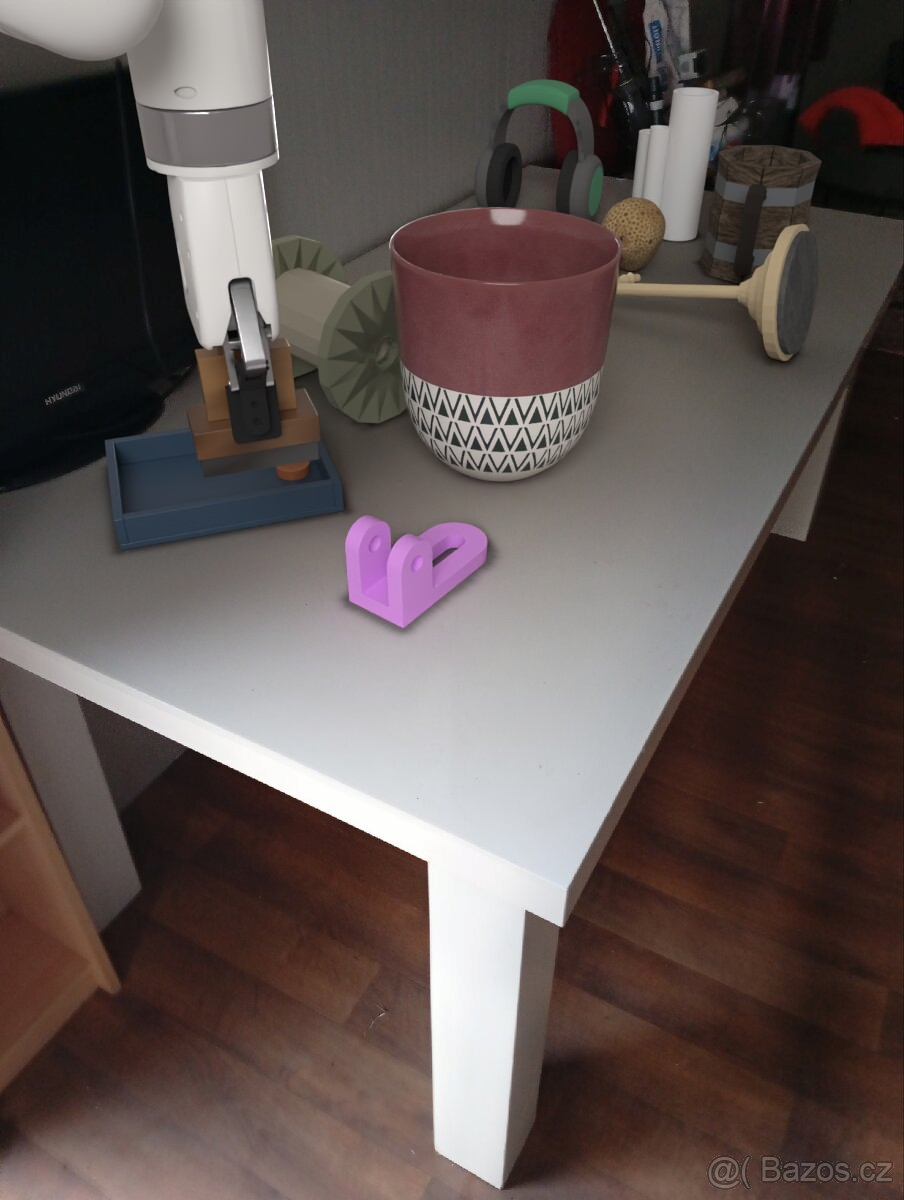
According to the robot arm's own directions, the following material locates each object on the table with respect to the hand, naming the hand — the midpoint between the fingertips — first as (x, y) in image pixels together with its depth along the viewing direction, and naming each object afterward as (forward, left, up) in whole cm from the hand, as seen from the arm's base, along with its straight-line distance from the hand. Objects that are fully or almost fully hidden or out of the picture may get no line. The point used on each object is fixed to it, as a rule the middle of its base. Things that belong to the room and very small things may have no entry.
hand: (251, 419), depth 65 cm
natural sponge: (+61, +60, -17) cm, 87 cm away
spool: (+13, +35, -17) cm, 41 cm away
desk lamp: (+47, +37, -17) cm, 63 cm away
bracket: (+12, 0, -17) cm, 21 cm away
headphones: (+58, +86, -17) cm, 105 cm away
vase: (+74, +74, -17) cm, 106 cm away
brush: (0, 0, -3) cm, 3 cm away
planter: (+24, +15, -17) cm, 33 cm away
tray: (-2, +19, -16) cm, 25 cm away
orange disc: (+5, +19, -16) cm, 25 cm away
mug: (+76, +53, -17) cm, 95 cm away
